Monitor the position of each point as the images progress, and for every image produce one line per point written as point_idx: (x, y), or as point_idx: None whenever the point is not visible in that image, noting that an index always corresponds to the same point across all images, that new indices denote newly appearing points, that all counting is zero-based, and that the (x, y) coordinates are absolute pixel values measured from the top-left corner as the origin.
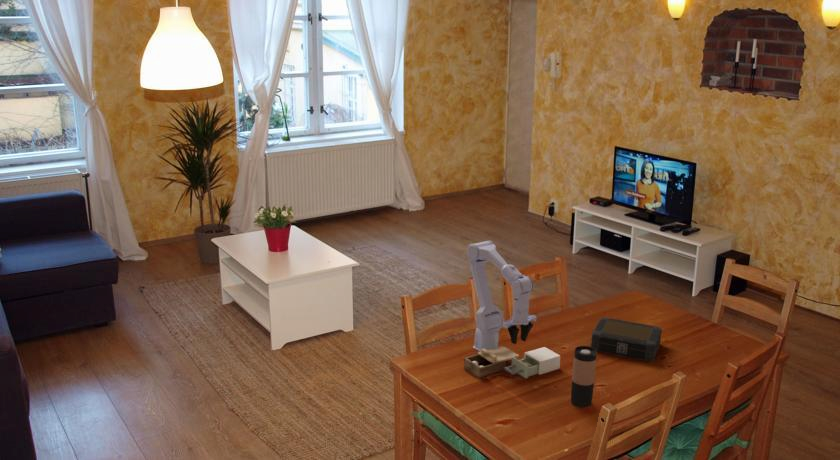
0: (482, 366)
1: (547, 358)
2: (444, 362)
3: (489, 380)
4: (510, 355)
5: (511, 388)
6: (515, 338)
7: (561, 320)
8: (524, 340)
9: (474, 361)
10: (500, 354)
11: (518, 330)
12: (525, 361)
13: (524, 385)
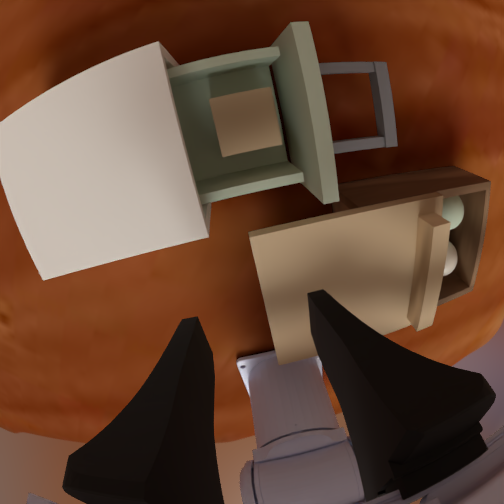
0: (458, 211)
1: (74, 90)
2: (450, 317)
3: (430, 141)
4: (308, 251)
5: (383, 29)
6: (360, 322)
7: (23, 419)
8: (196, 324)
9: (452, 265)
10: (356, 278)
11: (416, 409)
12: (213, 186)
13: (309, 18)
